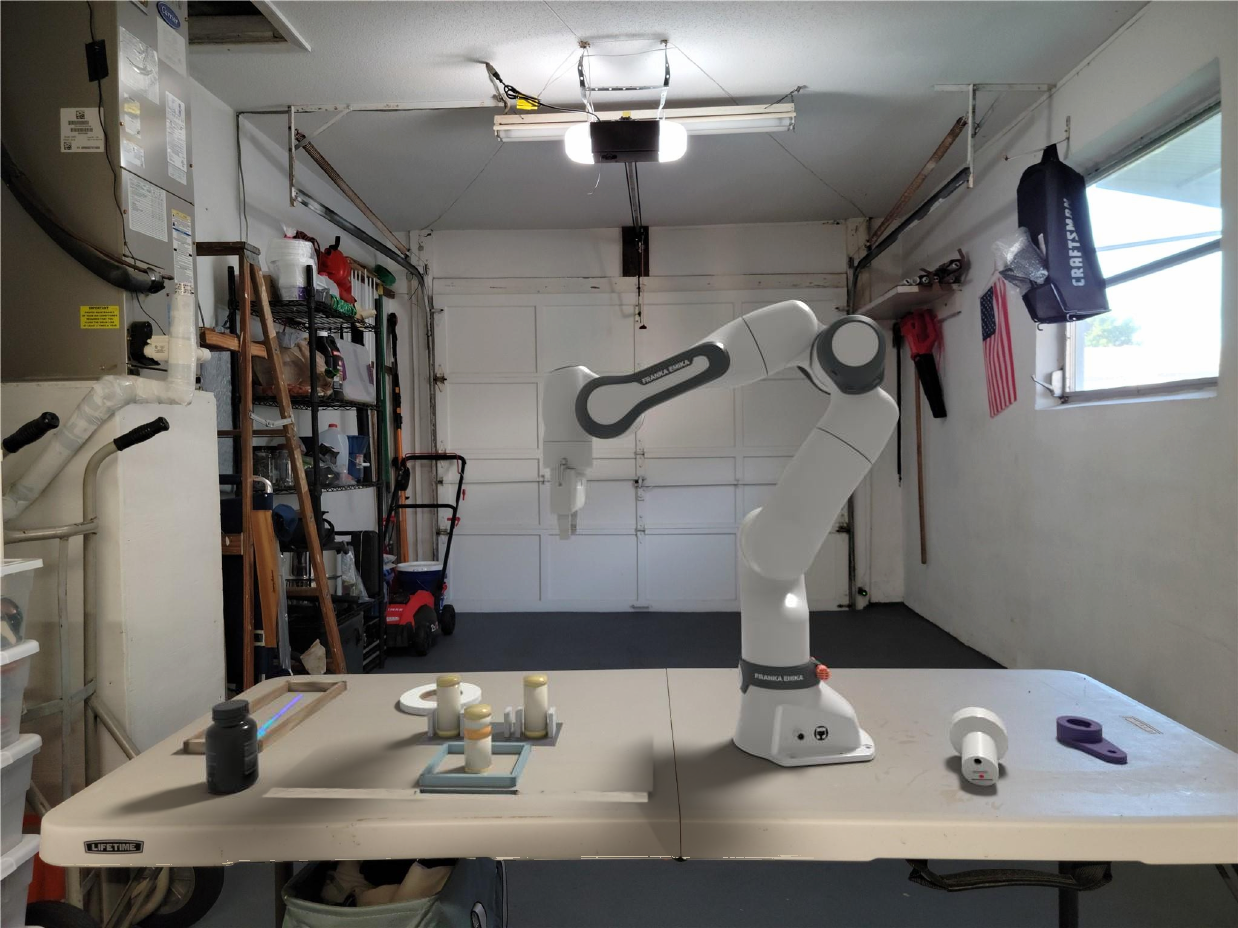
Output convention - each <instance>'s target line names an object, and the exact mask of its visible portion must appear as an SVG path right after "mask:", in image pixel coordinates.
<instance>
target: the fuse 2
mask: <svg viewBox="0 0 1238 928" xmlns="http://www.w3.org/2000/svg"><path fill="white" fill-rule="evenodd" d="M522 679H523V681H522V682H523V721H524V736H526V737H528V738H541V737H544V736H546V735H547V734H548V676H547V675H546V674H540V673H533V674H528V675H525V676H524V677H523V678H522Z"/></svg>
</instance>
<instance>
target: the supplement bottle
mask: <svg viewBox="0 0 1238 928" xmlns="http://www.w3.org/2000/svg"><path fill="white" fill-rule="evenodd" d="M249 703H250V702H249V700H247V699H242V698H241V699H239V698H237V699H230V700H226V701H221V702H218V703H217V704H215V705H213V706H212V708H211V721H212V722H213V723H211V724H210V725H209V726H207V727H208V729H207V730H206V733H205V753H204V754H205V773H206V774H205V775H206V778H205V779H206V788H207V790H208V792H209V793H211V794H215V795H228V794H234V793H237V792H241V791H243V790H247V789H248V788H250V787H251V786H252V785H255V783H256V782H257V781H258V780H259V777H260V775H259V774H260V771H259V769H260V768H259V753H258V733H257V730H258V723H257V720H255V719H254V718H253V717H251V716H250V715H249V714H250V710H249ZM248 715H249V716H248Z"/></svg>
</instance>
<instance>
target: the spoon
mask: <svg viewBox="0 0 1238 928" xmlns="http://www.w3.org/2000/svg"><path fill="white" fill-rule="evenodd" d="M303 696H304V695H303V694H302V693H298V694H297V696H295V697H294V698H293V699H292V700H290V702H288V703H287V704H286V705H284V706H283V708H281V709H280V710H279V711H278V712H276V713H275V714H274V715H273V716H272V717H270V719H269V720H268V721H267V722H266V723H264V724H263V725H262V726H260V727H259V728H257V733H258V739H259V738H260V737H262V736H263V735H264V734H266V733H267V732H268V731H267V728H269V727H270V726H271V725H273V724H274V722H276V721H277V720H278V719H279V718H280V717H282V716H283V715H284V714H285V713H287V711H288V710H289V709H290V708H291V707H293V706H294V705H295V704H296V703H297V702H298V701H300V699H302V697H303Z"/></svg>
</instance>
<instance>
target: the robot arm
mask: <svg viewBox="0 0 1238 928" xmlns="http://www.w3.org/2000/svg"><path fill="white" fill-rule="evenodd" d="M887 343H888V342H887V338H886V333H885V332H884V330H883V329H882V327H881V326H880V325H879V324H878V322H876V321H875V320H873V319H872V318H870V317H867V316H864V315H860V314H858V315H857V314H850V315H844V316H841V317H838V318H836V319H834V320H832V321H831V322H829V323H828V324H827V325H824V324H822V323H821V322H820V321H819V320H817V317H816V315H815V313H814V312H813V310H812V309H811V308H810V307H809V306H808V305H807V304H806V303H804V302H803V301H800V300H798V299H797V300H796V299H790V300H785V301H780V302H778V303H777V302H776V303H775V304H774V303H773V304H770V305H768V306H766V307H762V308H759V309H756V310H754V311H752V312H749V313H748V314H745V315H742V316H741V317H739V318H736V319H734V320H732V321H731V322H729V323H726V324H725V325H723V326H721V327H719V328H718V329H716V330H715V331H713V332H712V333H711V334H709V335H708V336H706V337H705V338H703V339H701V340H700V341H698V342H696V343H695V344H693V345H692V346H691V347H689V348H687V349H686V350H683V351H682V352H679V353H677V354H675V355H672V356H671V357H669V358H668V357H667V358H666V359H664V360H661V361H659V362H657V363H654V364H652V365H650V366H647V367H645V368H643V369H641V370H638V371H636V372H632V373H629V374H625V375H624V374H623V375H602V376H600V375H598V374H596V373H594V372H592V371H591V370H590V369H588V368H587V367H586V366H583V365H579V364H578V365H576V364H575V365H567V366H562V367H559V368H556V369H553V370H552V371H550V372H549V373H548V374H547V375H546V377H545V379H544V383H543V389H542V398H541V399H542V400H541V401H542V402H541V418H542V422H543V426H544V427H543V428H544V432H543V436H542V469H549V478H550V480H549V509H550V514H551V515H557V516H556V517H557V518H556V519H557V526H558V533H559V534H558V536H559V540H561V541H569V540H570V539H571V537H572V536H571V535H576V534H577V533H578V522H579V513H580V512H579V510H580V509H582V508H583V507H584V506H585V501H586V491H587V479H588V470H587V469H592V468H593V467H594V466H593V464H594V463H593V460H594V459H593V454H594V453H593V438H596V439H599V440H610V439H611V440H623V439H627V438H629V437H631V436H632V435H635V434H636V433H637V432H638V431H639V430H640V429H641V427H642V426H643V424H644V422H645V418H646V412H647V411H649V410H652V409H653V408H656V407H657V406H660V405H662V404H664V403H667V402H669V401H671V400H674V399H676V398H678V397H680V396H683V395H685V394H687V393H690V392H694V391H698V390H702V389H721V390H730V389H731V390H732V389H736V388H740V387H743V386H747V385H750V384H753V383H755V382H757V381H760V380H761V381H762V380H763V379H765V378H766V377H769V376H772V375H773V374H775V373H777V372H780V371H782V370H783V369H786V368H790V367H795V366H796V368H797V370H798V371H799V372H800V373H802V375H804V377H805V378H806V379H807V380H808V381H809V382H810V383H811V385H813V386H814V387H815V388H816V389H817V390H818V391H819V392H821V393H823V394H825V395H828V396H830V403H829V405H828V408H827V410H826V411H825V413H824V414H823V416H822V418H821V419H820V420H819V421H818V423H817V424H816V426H815V427H814V428H813V430H812V431H811V432H810V433H809V435H808V437H807V438H806V439H805V441H803V443H802V445H801V446H800V447H799V449H798V450H797V452H796V453H795V455H794V456H793V457H792V458H791V460H790V461H789V463H787V466H786V467H785V469H784V471H783V473H782V475H781V476H780V479H779V480H778V482H777V484H776V485H775V487H774V488H773V490H772V492H771V494H770V495H769V497H768V498H767V500H766V501H765V503H764V504H763V506H761V507H758V508H755V509H754V510H752V511H750V512H749V513H747V515H746V516H745V517H743V519H742V521H741V523H740V525H739V526H738V531H737V557H738V558H737V559H738V576H739V577H738V578H739V592H740V593H739V596H740V612H741V613H740V616H741V619H740V620H741V623H740V624H741V654H740V655H739V663H738V686H739V690H740V701H739V702H740V703H739V709H738V710H739V711H738V716H737V721H736V727H735V729H734V734H733V737H732V739H733V742H734V744H735V745H736V747H738V748H739V749H741V750H743V752H747V754H751V755H754V756H756V757H761V758H764V759H767V760H769V761H772V762H773V763H775V764H777V765H780V766H782V767H796V766H797V767H798V766H809V765H823V764H835V763H850V762H860V761H871V760H873V759H874V758H875V756H876V748H875V743H874V741H873V739H872V738H871V736H870V735H869V734H868V733H867V732H866V731H865V730H863V728H861V727H860V724H859V720H858V717H857V714H856V711H855V709H854V707H853V706H852V705H851V703H849V701H848V700H846V698H845V697H843V696H842V695H841V694H839V693H838V692H837V691H835V690H834V689H833V688H831V687H830V686H829V685H828V684H827V683H825V681H828V680H829V679H830V678H831V671H830V670H829V669H828V668H827V666H826V665H823V664H822V663H821V662H820V661H818V660H817V659H815V658H814V657H813V656H810V610H809V607H808V606H809V605H808V599H807V598H808V597H807V591H806V583H805V574H804V573H806V572H807V571H808V570H809V568H810V567H811V565H812V564H813V562H814V559H815V557H816V555H817V553H818V551H819V549H820V548H821V546H822V545H823V543H824V541H825V540H826V538H827V536H828V535H829V533H830V531H831V529H832V528H833V526H834V523H836V519H837V517H838V516H839V514H840V512H841V510H842V509H843V507H844V506H845V504H846V502H847V501H848V500H849V498H850V497H851V495H852V494H853V493H854V491H855V490H856V488H857V487H858V486H859V484H860V483H861V482H862V480H863V479H864V478H865V476H866V475H867V474H868V472H869V470H870V469H871V468H872V467H873V465H874V464H875V462H876V461H877V460H878V458H879V457H880V455H881V453H882V451H883V449H885V446H886V445H887V443H888V441H889V440H890V438H891V435H892V434H893V432H894V430H895V428H896V425H897V423H898V420H899V417H900V411H899V406H898V404H897V403H896V402H895V400H894V398H892V396H891V395H890V394H889V393H887V392H886V391H885V390H884V389H882V388H880V386H881V385H882V384H883V383H884V381H885V377H886V366H887V365H886V363H887V356H888V355H887V353H888V345H887Z"/></svg>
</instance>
